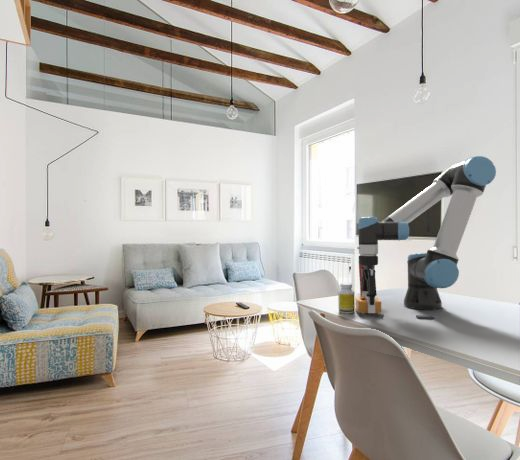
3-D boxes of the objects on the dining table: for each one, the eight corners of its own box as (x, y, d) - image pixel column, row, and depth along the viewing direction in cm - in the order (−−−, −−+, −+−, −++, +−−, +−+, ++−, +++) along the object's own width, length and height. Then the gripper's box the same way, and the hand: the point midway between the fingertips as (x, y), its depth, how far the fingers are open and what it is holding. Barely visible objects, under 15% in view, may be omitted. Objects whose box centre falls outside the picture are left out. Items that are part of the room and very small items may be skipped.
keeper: (355, 310, 150) (354, 291, 150) (377, 310, 149) (376, 291, 149) (359, 316, 139) (359, 296, 139) (383, 316, 138) (383, 296, 139)
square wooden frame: (376, 308, 148) (376, 297, 148) (381, 313, 140) (381, 301, 140) (355, 308, 149) (355, 297, 149) (359, 312, 141) (358, 301, 141)
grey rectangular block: (432, 317, 136) (432, 315, 136) (434, 319, 134) (434, 316, 134) (415, 317, 137) (415, 315, 137) (418, 318, 135) (418, 316, 135)
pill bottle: (355, 314, 143) (354, 285, 143) (338, 313, 144) (338, 284, 144) (354, 310, 149) (353, 282, 149) (338, 310, 151) (338, 282, 151)
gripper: (354, 253, 156) (354, 304, 156) (364, 257, 134) (364, 316, 133) (371, 253, 155) (372, 304, 155) (384, 257, 133) (385, 316, 133)
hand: (368, 309), depth 144 cm, fingers open, 10 cm apart
